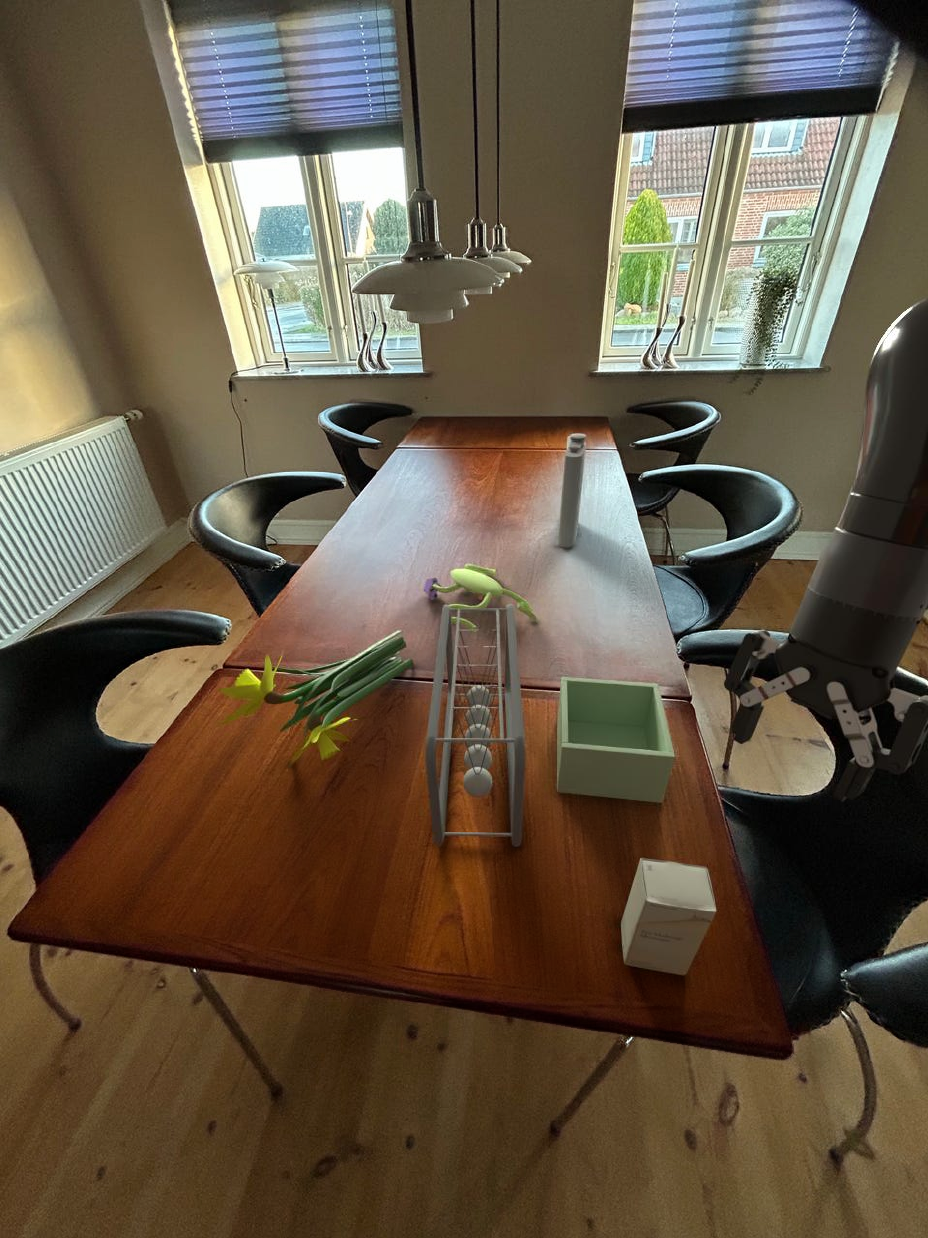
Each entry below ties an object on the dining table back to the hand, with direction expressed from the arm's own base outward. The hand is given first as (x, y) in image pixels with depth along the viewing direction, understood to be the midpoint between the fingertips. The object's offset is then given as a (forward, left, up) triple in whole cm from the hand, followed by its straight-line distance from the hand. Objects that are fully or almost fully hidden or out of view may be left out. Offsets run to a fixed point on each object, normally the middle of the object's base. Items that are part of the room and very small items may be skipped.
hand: (788, 767), depth 47 cm
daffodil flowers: (+52, +25, -22) cm, 62 cm away
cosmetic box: (+1, +11, -22) cm, 24 cm away
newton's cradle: (+32, +12, -22) cm, 40 cm away
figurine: (+66, -10, -22) cm, 70 cm away
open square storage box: (+22, -3, -22) cm, 31 cm away
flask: (+82, -49, -22) cm, 98 cm away
